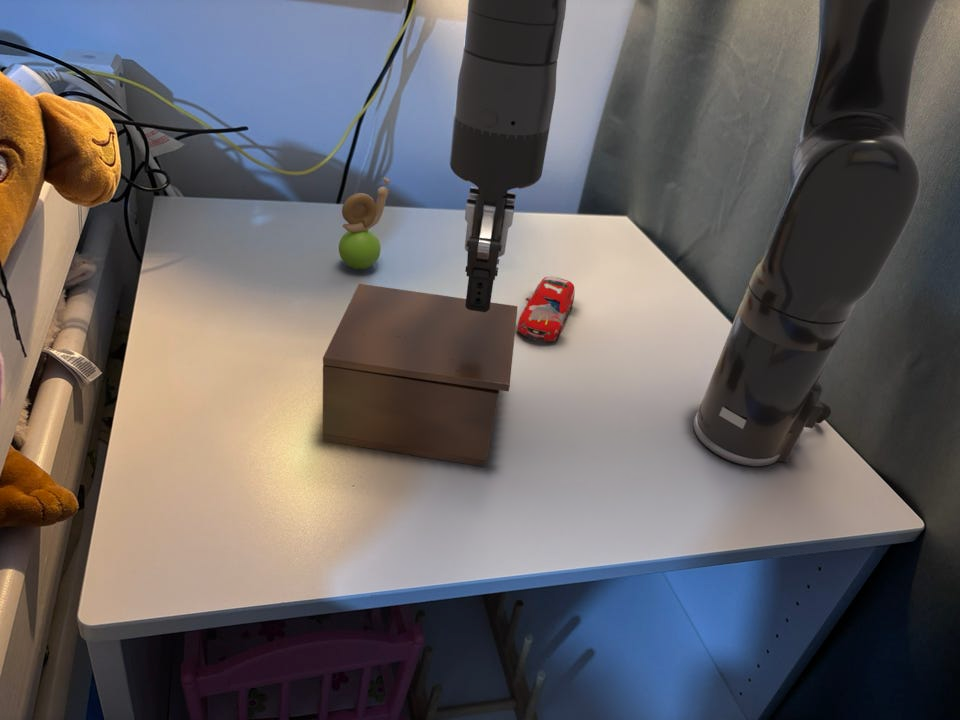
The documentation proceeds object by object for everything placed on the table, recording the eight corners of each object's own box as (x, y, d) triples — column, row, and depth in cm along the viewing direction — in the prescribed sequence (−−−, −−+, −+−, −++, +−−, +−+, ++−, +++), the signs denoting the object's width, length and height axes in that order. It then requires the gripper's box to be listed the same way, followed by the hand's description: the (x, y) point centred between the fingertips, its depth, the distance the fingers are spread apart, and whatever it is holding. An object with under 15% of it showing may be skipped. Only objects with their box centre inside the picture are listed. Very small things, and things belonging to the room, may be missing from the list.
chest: (496, 382, 79) (508, 314, 74) (485, 467, 68) (498, 393, 63) (356, 359, 79) (358, 290, 74) (322, 440, 68) (322, 365, 63)
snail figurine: (393, 271, 96) (398, 186, 89) (349, 279, 93) (351, 192, 86) (374, 253, 100) (378, 170, 93) (331, 261, 96) (332, 175, 90)
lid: (516, 312, 74) (517, 305, 73) (508, 392, 62) (509, 384, 62) (358, 290, 74) (358, 283, 73) (322, 365, 63) (322, 357, 62)
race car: (553, 351, 85) (559, 323, 83) (510, 338, 87) (515, 310, 84) (578, 301, 96) (584, 275, 94) (539, 290, 97) (544, 264, 95)
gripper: (550, 149, 50) (515, 352, 60) (550, 99, 61) (520, 278, 71) (444, 134, 50) (426, 340, 60) (463, 87, 61) (445, 268, 71)
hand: (477, 306), depth 65 cm, fingers closed
